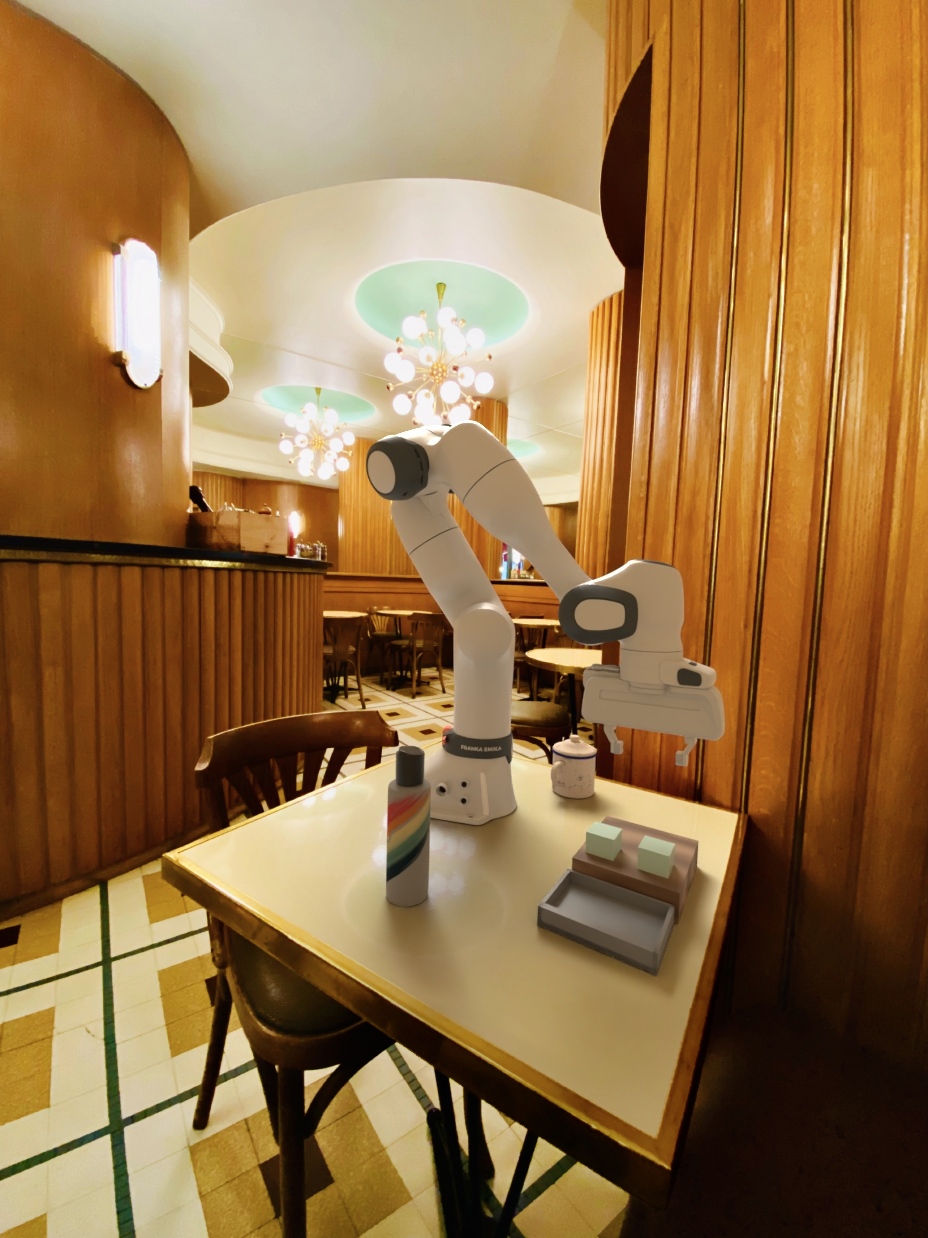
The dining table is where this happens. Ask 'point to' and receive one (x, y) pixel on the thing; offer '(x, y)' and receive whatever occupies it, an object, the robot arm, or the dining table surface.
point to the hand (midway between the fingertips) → (648, 758)
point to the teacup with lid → (573, 768)
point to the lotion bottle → (408, 830)
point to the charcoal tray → (608, 919)
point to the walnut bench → (638, 880)
